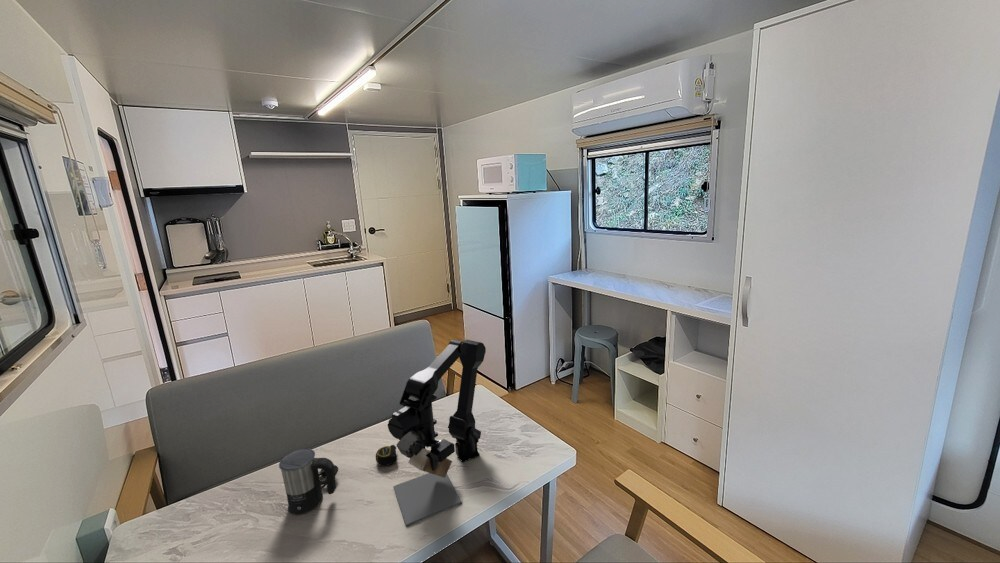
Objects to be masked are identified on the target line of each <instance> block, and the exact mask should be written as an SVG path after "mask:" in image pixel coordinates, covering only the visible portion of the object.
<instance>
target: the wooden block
mask: <svg viewBox="0 0 1000 563" xmlns="http://www.w3.org/2000/svg"><path fill="white" fill-rule="evenodd" d="M430 450H431V449H430ZM430 450H429V449H427V448H425V449H424V448H422V450H421V451H420V452H419V454H418V455H416V456H415V455H413V457H411V458H409V460H408V462H407V463H408V464H409V465H411V466H413V467H414V468H416V469H418V470H419V471H422V472H425V473H427V474H428V473H431V474H434V475H437V476H440V477H444V478H445V477H446V474H447V475H448V472H449V469H450V468H451V465H452V463H453V460H451V459H449V458H448V457H447V458H446V459H445V460H443V461H442V462H439V463H438V465H437V468H436V469H435V470H434V471H433V470H432V467H431V462H430V458H428V457H427V456H426V455H427V454H428V453H430Z"/></svg>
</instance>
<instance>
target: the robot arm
mask: <svg viewBox="0 0 1000 563" xmlns="http://www.w3.org/2000/svg"><path fill="white" fill-rule="evenodd" d="M486 351H487V349H486V346H485V344H484V343H483V342H481V341H475V340H471V339H465V340H459V339H458V340H457V339H452V340H450V341H449V342H448V345H447V346H445V348H444V350H442V351H441V352H440V354H438V355H437V357H436V358H435V359H434V360H433V361H432V362H431V363H430V365H429V366H428V367H426V368H425V369H422V370H420V371H417V372H416V373H414V374H413V375H412V376H411V377H409V378H408V380H407V382H406V383H405V387H404V389H403V392H402V395H401V398H400V400H399V405H400V406H403V407H402V408H400V409H399V410H397V411H394V412H393V413H392V414H391V418H390V419H388V423H387V428H388V432H389V433H390V434H391V437H393V438H395V439H397V440H399V441H398V442H397V444H396V448H397V449H398V452H400V454H401V455H403V456H405V457H407V458H408V459H410V458H411V457H413V455H415V456H416V455H418V454H419V452H420V451H421V450H422V448H424V449H427V448H428V449H429V448H430V453H428V454H427V455H426V456H427V457H428V458H430V462H431V467H432V470H433V471H434V470H435V469H436V468H437V465H438V463H439V462H442V461H443V460H445V459H446V458H447V459H448V458H449V457H450V456H451V455H453V454H454V453H455V454H456V456H457V458H459V460H460V462H461V463H464V462H467V461H470V460H472V459H475V458H479V457H480V456H481V455H480V453H479V451H478V443H479V440H480V438H481V435H482V431H481V430H479V429H477V428H476V419H475V417H474V414H473V405H474V398H475V390H476V382H477V377H478V368H479V367H480V366H481V365H482V363H483V362H484V359H485V354H486ZM458 359H459V361H460V364H461V365H462V369H461V370H462V371H461V378H460V384H459V391H458V392H459V394H458V400H457V407H456V411H455V412H454V413H453V415H450V416H449V418H448V420H449V422H448V426H447V429H448V433H449V435H450V436H451V437H452V438H453V439H455V441H456V442H455V443H453V442H450V441H449V440H447V439H444V438H443V439H441V440H437V439H436V438H438V437H439V432H437V431H436V430H435V425H436V424H438V421H437V419H435V418H434V411H433V410H434V409H433V402H434V401H436V400H437V398H438V397H437V396H436V395H434V394H435V393H436V391H437V390H438V387H439V382H440V380H441V379H442V377H443V376H444V375H445V374H446V373H447V372H448V370H449V369H450V368H451V367H452V366H453V365H454V364H455V362H456V361H457V360H458ZM410 397H412V398H413V399H411V398H410ZM414 399H416V400H414Z"/></svg>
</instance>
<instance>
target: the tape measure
mask: <svg viewBox="0 0 1000 563" xmlns="http://www.w3.org/2000/svg"><path fill="white" fill-rule="evenodd" d="M396 450H397V446H396V445H395V444H391V445H386V446H383V447H380V448H379V449H378V450H377V451H376V452H375V461H376V463H377V464H378V466H381V467H382V466H383V467H384V466H389V465H391V464H395V463H397V462H398V455H397V451H396Z"/></svg>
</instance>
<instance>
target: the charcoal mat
mask: <svg viewBox="0 0 1000 563" xmlns="http://www.w3.org/2000/svg"><path fill="white" fill-rule="evenodd" d="M392 488H393V490H394V495H395V497H396V500H397V502H398V503H397V504H398V506H399V509H400V512H401V515H402V519H403V521H404V524H405V525H404V526H405V527H409V526H412V525H413V524H417V523H419V522H421V521H424V520H425V519H428V518H431V517H432V516H435V515H437V514H440V513H442V512H445V511H447V510H450V509H452V508H454V507H456V506H459V505H461V504H462V503H463V502H462V501H463V500H462V499H461V497H460V495H459V494H458V491H457V490H456V488H455V486H454V484H453V482H452V480H451V478H450V477H449V475H448V473H447V474H446V477H445V478H444V477H440V476H437V475H434V474H431V473H428V472H427V473H425V474H423V475H420V476H418V477H414V478H412V479H409V480H406V481H403V482H401V483H398V484H395V485H393V486H392Z"/></svg>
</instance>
